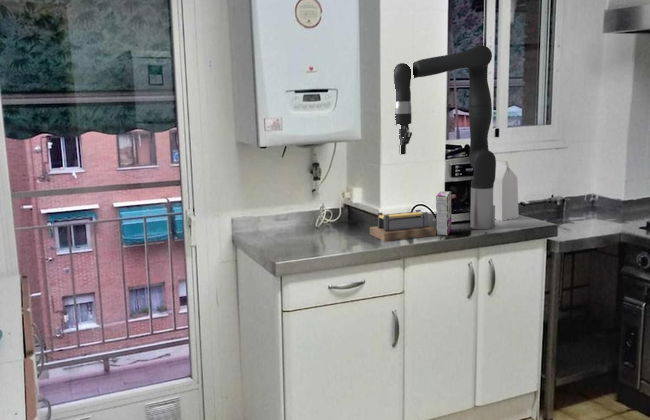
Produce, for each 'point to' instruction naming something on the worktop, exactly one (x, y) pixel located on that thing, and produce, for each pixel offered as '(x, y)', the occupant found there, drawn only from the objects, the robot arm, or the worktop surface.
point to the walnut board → (402, 233)
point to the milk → (505, 192)
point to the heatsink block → (402, 222)
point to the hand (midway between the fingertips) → (402, 154)
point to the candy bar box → (443, 213)
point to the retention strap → (403, 215)
